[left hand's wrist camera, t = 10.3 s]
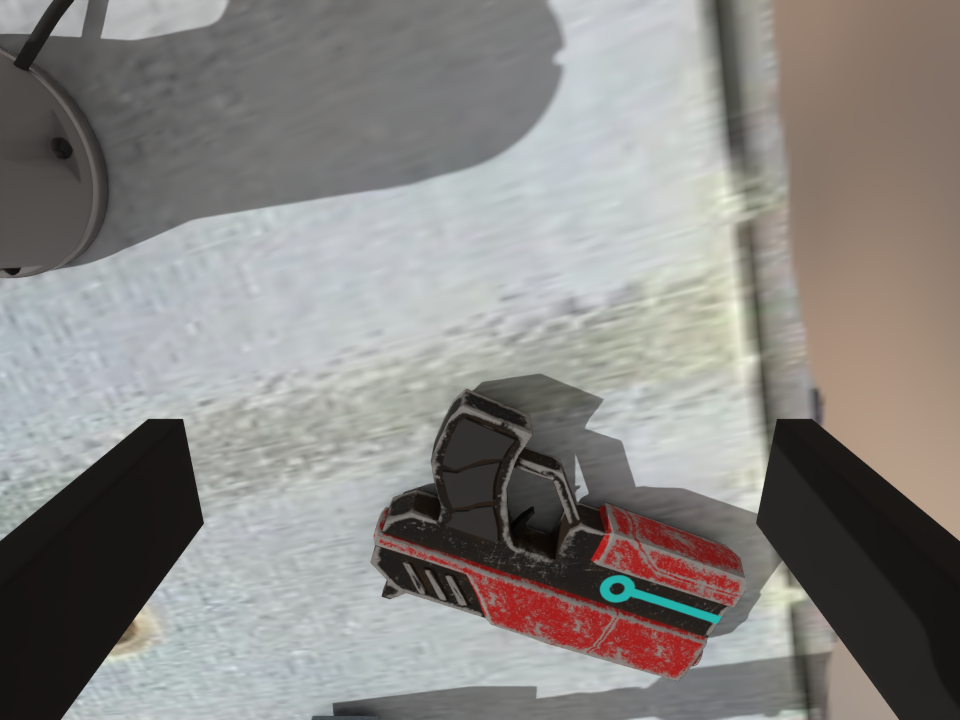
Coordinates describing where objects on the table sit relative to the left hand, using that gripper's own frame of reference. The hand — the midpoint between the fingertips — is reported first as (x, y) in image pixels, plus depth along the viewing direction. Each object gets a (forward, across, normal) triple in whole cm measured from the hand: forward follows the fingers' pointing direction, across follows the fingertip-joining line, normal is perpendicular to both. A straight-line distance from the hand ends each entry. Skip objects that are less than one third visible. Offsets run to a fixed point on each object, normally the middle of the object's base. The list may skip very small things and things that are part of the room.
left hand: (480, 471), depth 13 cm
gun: (+31, +7, -25) cm, 41 cm away
